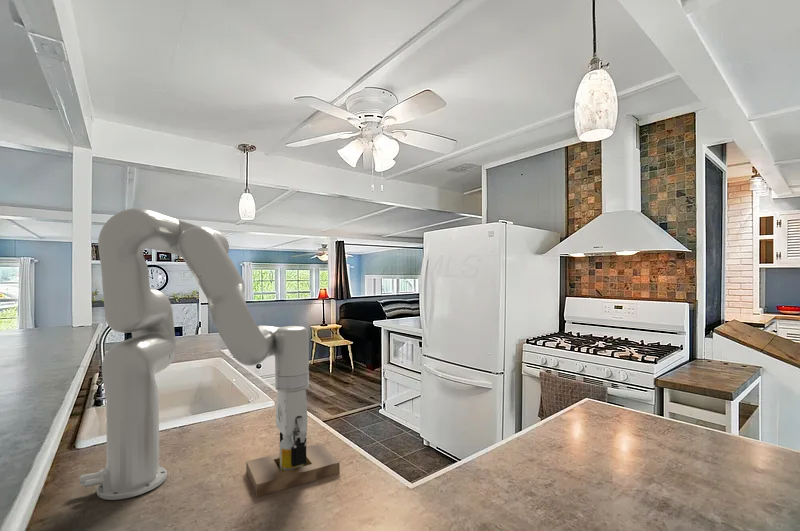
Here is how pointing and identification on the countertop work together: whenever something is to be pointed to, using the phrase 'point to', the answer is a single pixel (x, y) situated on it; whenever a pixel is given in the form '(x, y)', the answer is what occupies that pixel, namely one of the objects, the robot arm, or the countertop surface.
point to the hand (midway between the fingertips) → (292, 456)
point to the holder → (272, 479)
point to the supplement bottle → (287, 454)
